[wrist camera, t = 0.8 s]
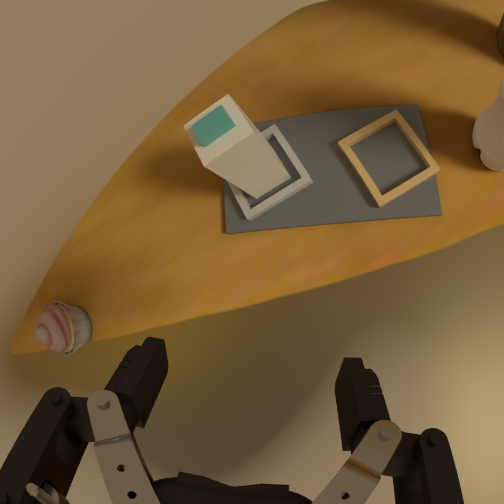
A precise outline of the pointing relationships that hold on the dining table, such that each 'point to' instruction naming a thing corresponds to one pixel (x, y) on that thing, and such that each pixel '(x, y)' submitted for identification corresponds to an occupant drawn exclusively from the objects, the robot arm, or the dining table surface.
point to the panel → (342, 171)
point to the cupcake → (63, 327)
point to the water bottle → (491, 133)
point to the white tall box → (235, 148)
